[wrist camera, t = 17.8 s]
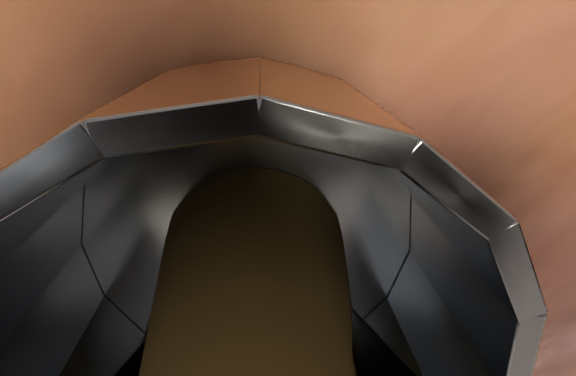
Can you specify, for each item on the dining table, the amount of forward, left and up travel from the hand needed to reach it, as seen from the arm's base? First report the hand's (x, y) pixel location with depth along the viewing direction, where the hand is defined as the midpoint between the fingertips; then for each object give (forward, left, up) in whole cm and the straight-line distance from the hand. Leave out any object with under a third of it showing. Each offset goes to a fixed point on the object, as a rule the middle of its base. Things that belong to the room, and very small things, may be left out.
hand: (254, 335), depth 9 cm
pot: (0, 0, -4) cm, 4 cm away
